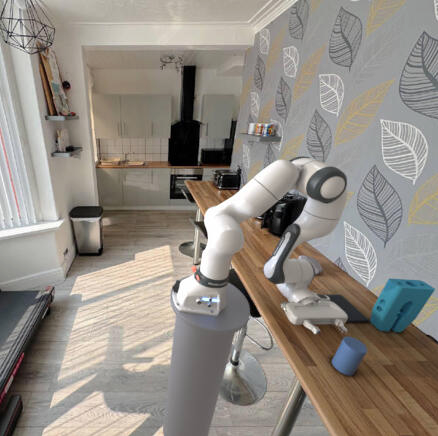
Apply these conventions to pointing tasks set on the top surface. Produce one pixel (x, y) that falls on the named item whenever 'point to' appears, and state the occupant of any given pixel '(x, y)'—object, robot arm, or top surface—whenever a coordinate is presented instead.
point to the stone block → (313, 263)
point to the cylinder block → (349, 355)
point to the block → (400, 304)
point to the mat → (348, 309)
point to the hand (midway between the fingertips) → (331, 332)
